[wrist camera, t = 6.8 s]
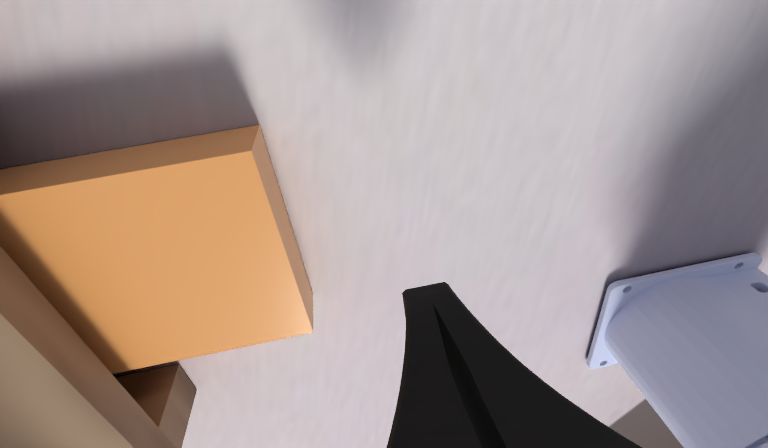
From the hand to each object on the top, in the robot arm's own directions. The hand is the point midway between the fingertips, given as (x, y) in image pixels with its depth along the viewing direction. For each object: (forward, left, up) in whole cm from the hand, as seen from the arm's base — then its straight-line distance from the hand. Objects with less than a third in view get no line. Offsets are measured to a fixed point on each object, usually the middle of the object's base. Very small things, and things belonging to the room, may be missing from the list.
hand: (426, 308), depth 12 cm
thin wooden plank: (+11, 0, -7) cm, 13 cm away
